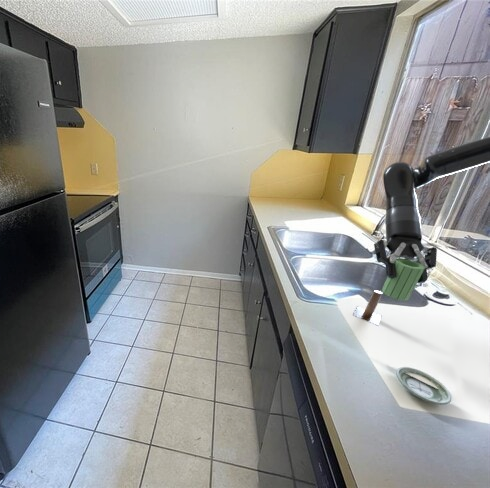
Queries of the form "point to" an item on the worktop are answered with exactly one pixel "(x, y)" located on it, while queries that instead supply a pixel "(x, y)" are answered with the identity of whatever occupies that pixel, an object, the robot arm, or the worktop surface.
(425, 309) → the worktop surface
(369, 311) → the stand
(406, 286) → the hollow cylinder
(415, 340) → the worktop surface
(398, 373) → the saucer
